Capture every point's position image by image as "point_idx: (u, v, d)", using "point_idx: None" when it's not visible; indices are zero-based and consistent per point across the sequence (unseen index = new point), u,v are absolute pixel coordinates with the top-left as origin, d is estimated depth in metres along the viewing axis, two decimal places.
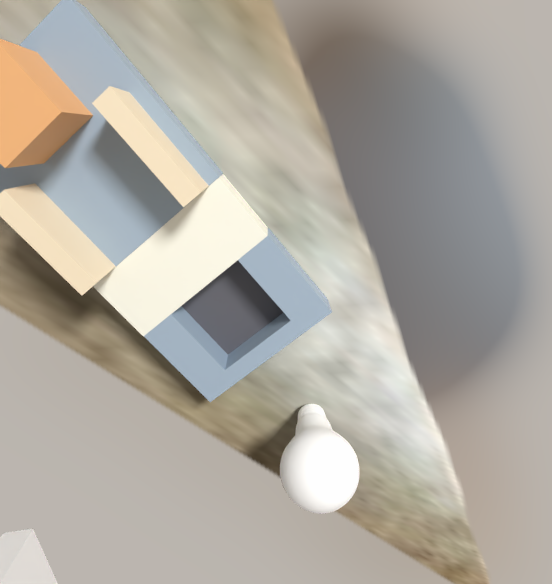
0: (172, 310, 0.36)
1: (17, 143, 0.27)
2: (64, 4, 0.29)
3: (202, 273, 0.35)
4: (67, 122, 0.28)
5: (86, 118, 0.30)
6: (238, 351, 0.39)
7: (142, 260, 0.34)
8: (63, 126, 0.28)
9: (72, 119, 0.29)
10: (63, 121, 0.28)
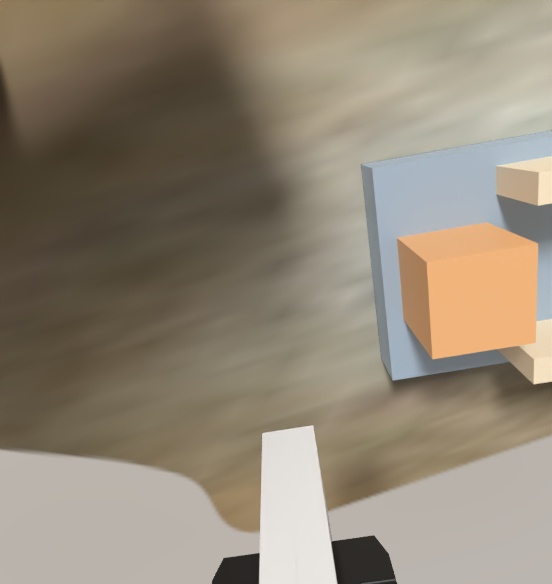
0: None
1: (526, 312, 0.21)
2: (378, 177, 0.24)
3: None
4: None
5: None
6: None
7: None
8: None
9: None
10: None
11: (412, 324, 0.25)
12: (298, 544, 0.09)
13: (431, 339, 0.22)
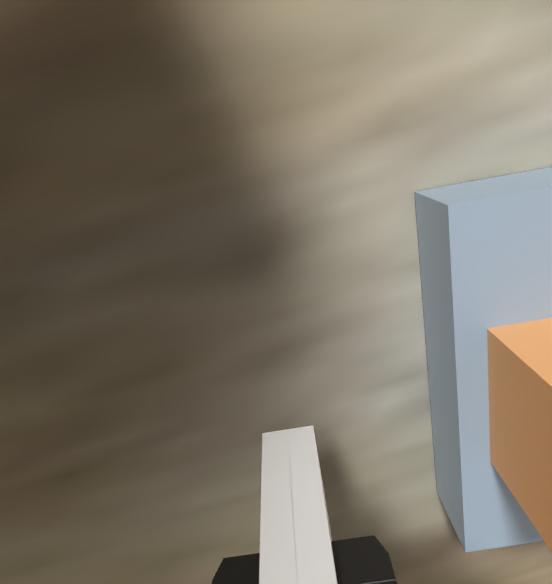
0: None
1: None
2: (458, 222, 0.13)
3: None
4: None
5: None
6: None
7: None
8: None
9: None
10: None
11: (519, 491, 0.13)
12: (298, 544, 0.09)
13: None
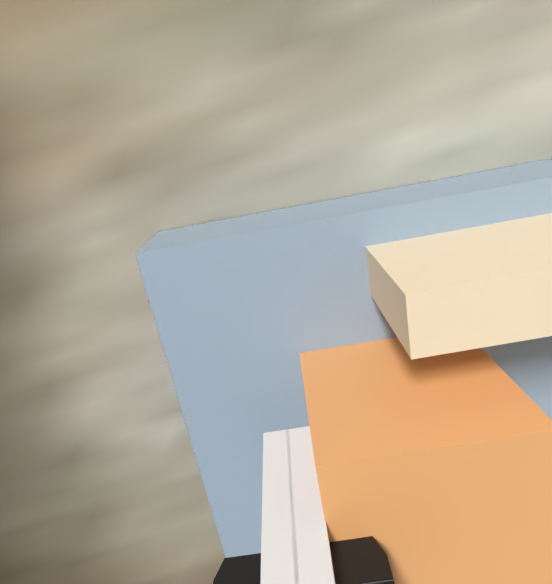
0: None
1: (533, 552, 0.10)
2: (149, 269, 0.13)
3: None
4: None
5: None
6: None
7: None
8: None
9: None
10: None
11: None
12: (299, 544, 0.09)
13: None
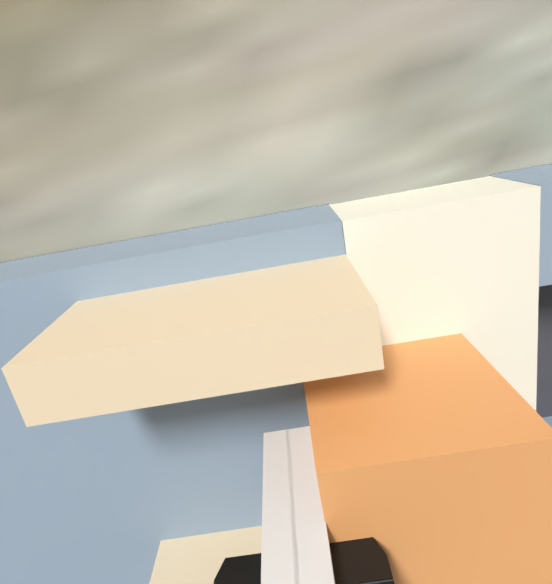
0: None
1: (534, 560, 0.10)
2: None
3: (506, 373, 0.14)
4: None
5: None
6: None
7: None
8: None
9: None
10: None
11: None
12: (300, 544, 0.09)
13: None
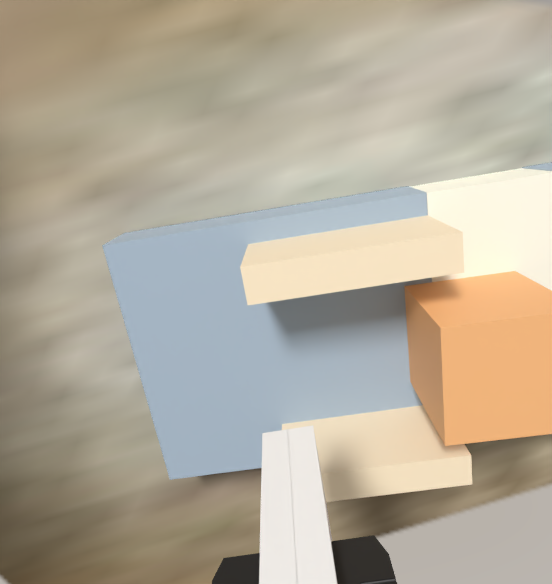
0: None
1: None
2: (111, 255, 0.20)
3: None
4: None
5: None
6: None
7: None
8: None
9: None
10: None
11: (420, 392, 0.20)
12: (298, 544, 0.09)
13: (444, 421, 0.17)
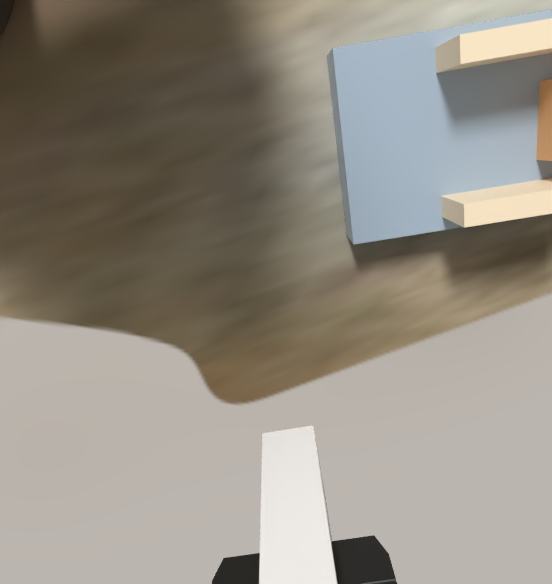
0: None
1: None
2: (337, 56, 0.29)
3: None
4: None
5: None
6: None
7: None
8: None
9: None
10: None
11: None
12: (298, 544, 0.09)
13: None
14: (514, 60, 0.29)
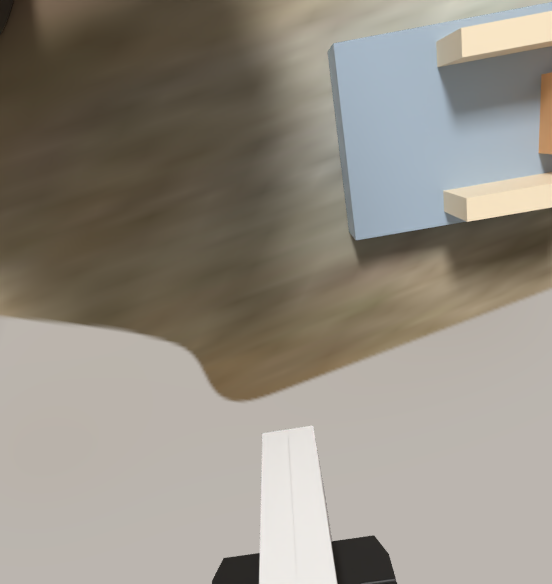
0: None
1: None
2: (338, 52, 0.29)
3: None
4: None
5: None
6: None
7: None
8: None
9: None
10: None
11: None
12: (298, 544, 0.09)
13: None
14: (515, 53, 0.29)
